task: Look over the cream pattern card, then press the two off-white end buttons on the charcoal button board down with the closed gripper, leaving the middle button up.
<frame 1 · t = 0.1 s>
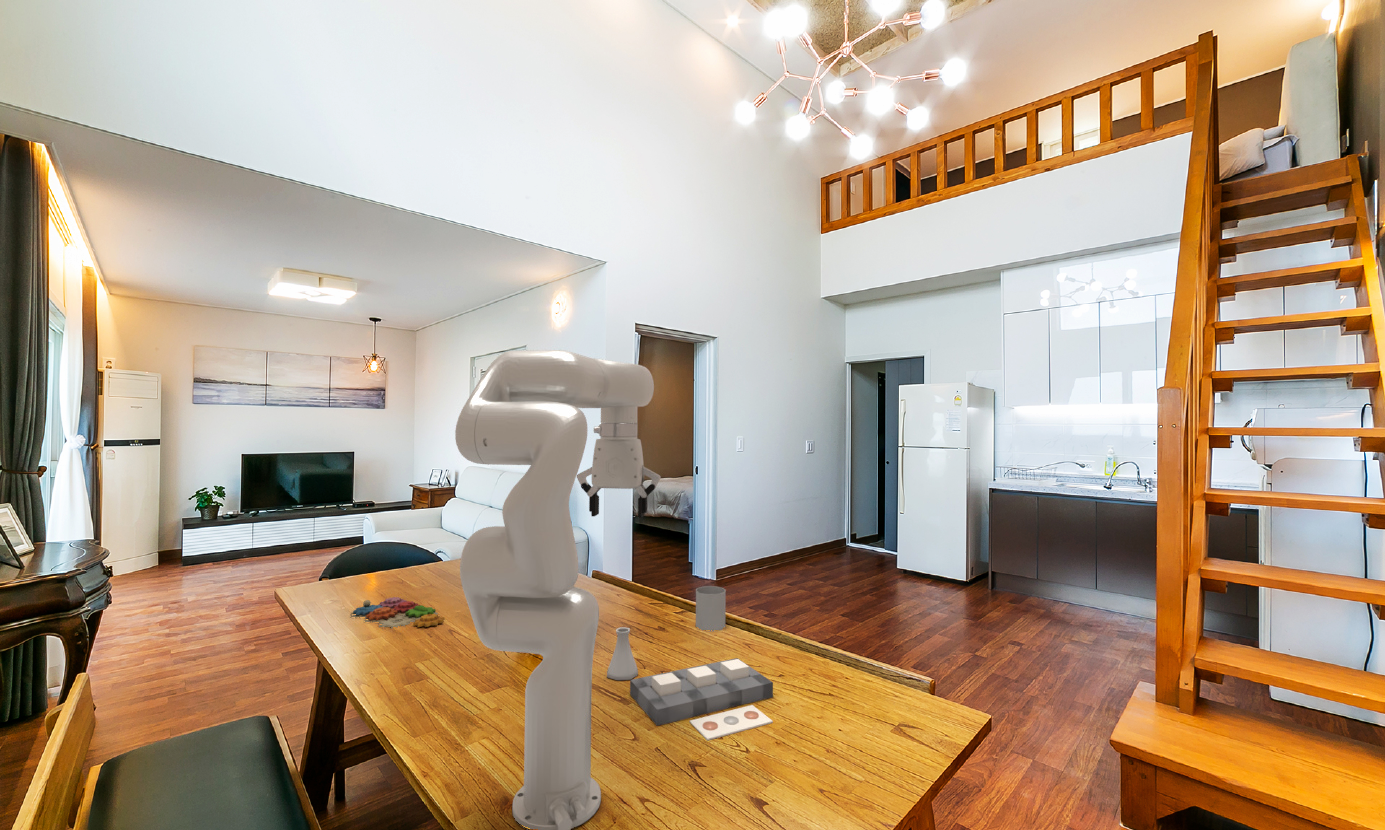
hand: (618, 516, 117), 37 cm above the table, tool pointing down, fingers open, 9 cm apart
button a: (734, 673, 123), point 3 cm above the table, slide at 0.0 cm
pattern card: (731, 722, 108), on the table
flask: (622, 675, 129), on the table
button c: (666, 687, 115), point 3 cm above the table, slide at 0.0 cm
button b: (701, 680, 119), point 3 cm above the table, slide at 0.0 cm
gear puzzle: (401, 620, 166), on the table
button board: (701, 695, 119), on the table
cup: (710, 626, 161), on the table
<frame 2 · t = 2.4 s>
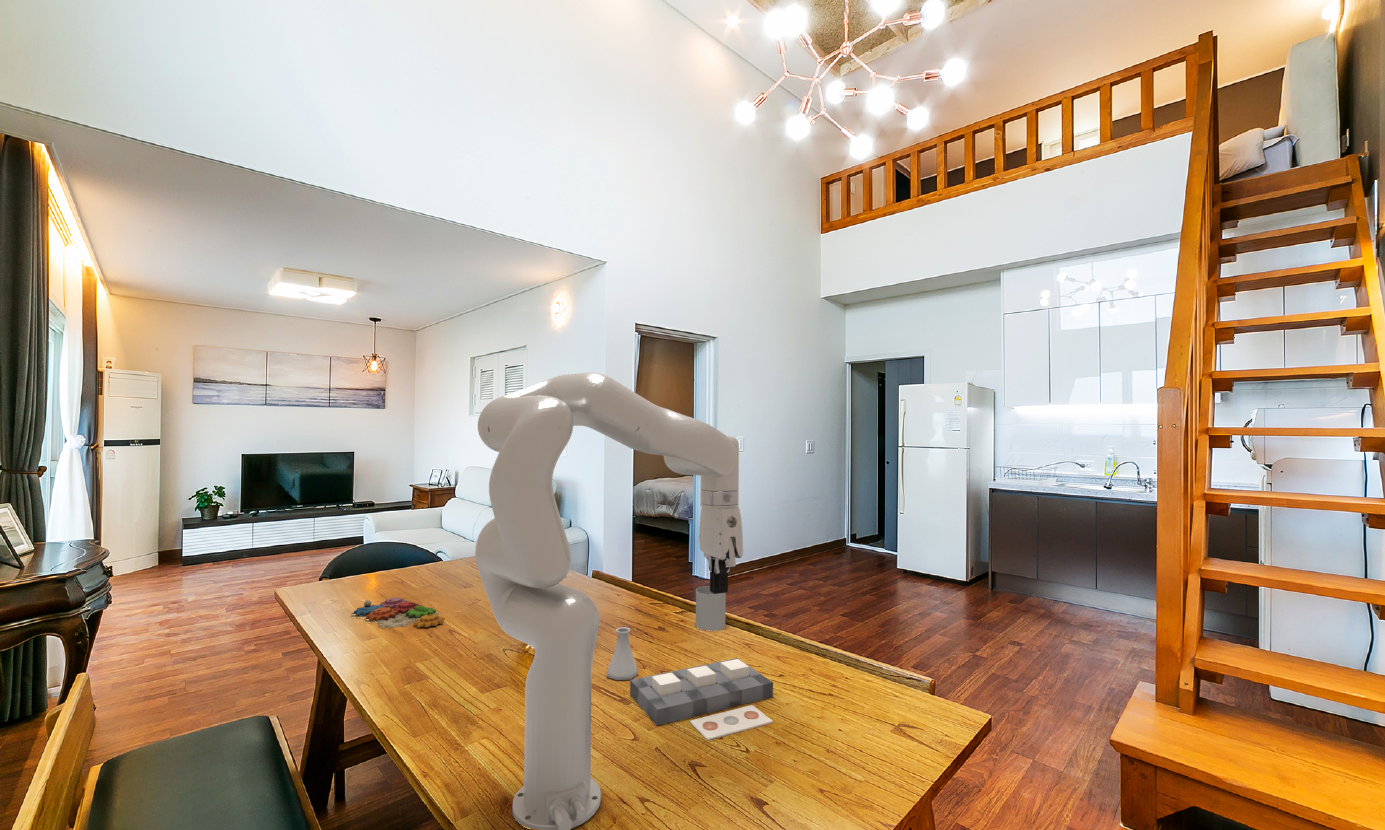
hand: (718, 592, 113), 23 cm above the table, tool pointing down, fingers closed
nothing on the table moved.
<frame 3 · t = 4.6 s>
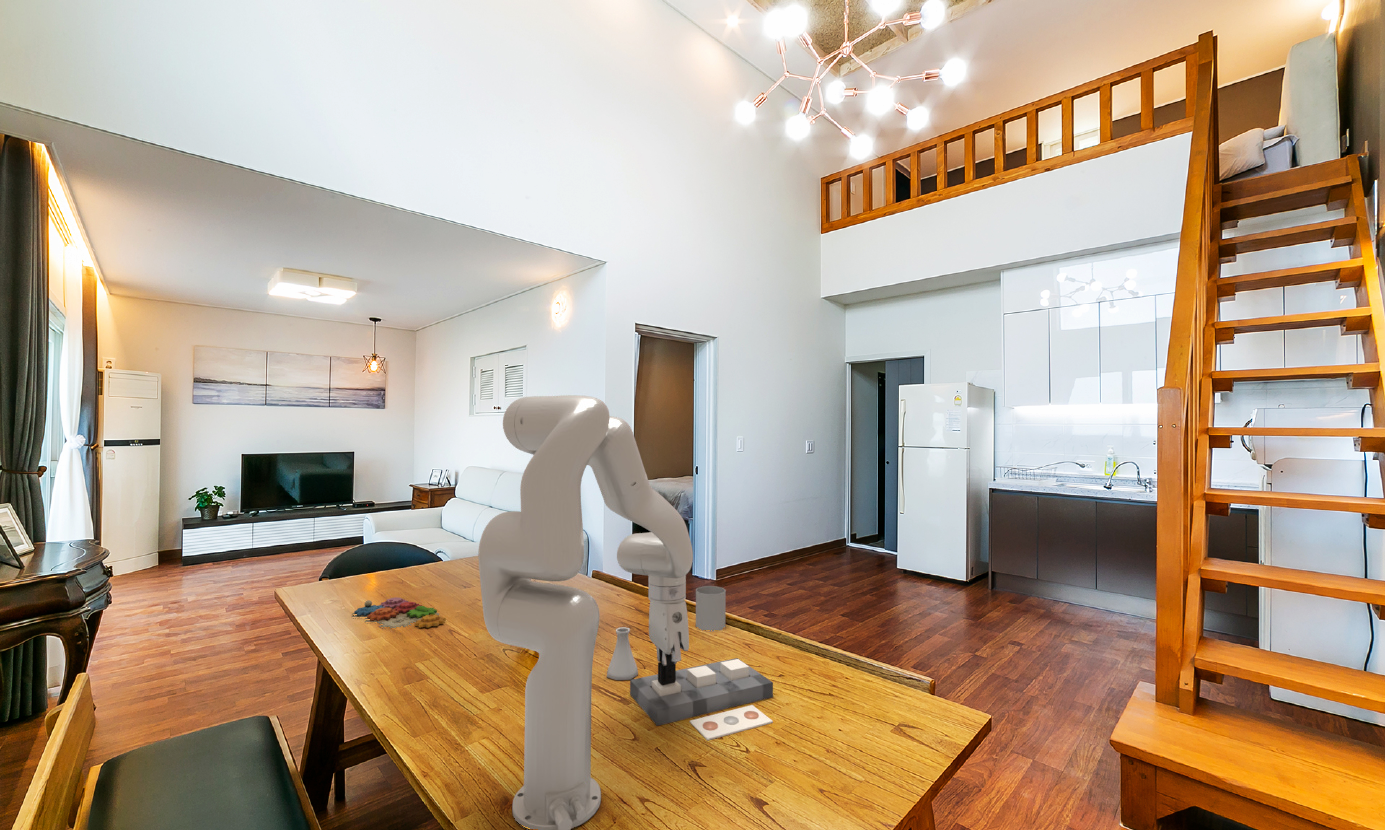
hand: (666, 682, 115), 4 cm above the table, tool pointing down, fingers closed
button c: (666, 692, 115), point 2 cm above the table, slide at 0.9 cm, touching gripper
everything else where it was.
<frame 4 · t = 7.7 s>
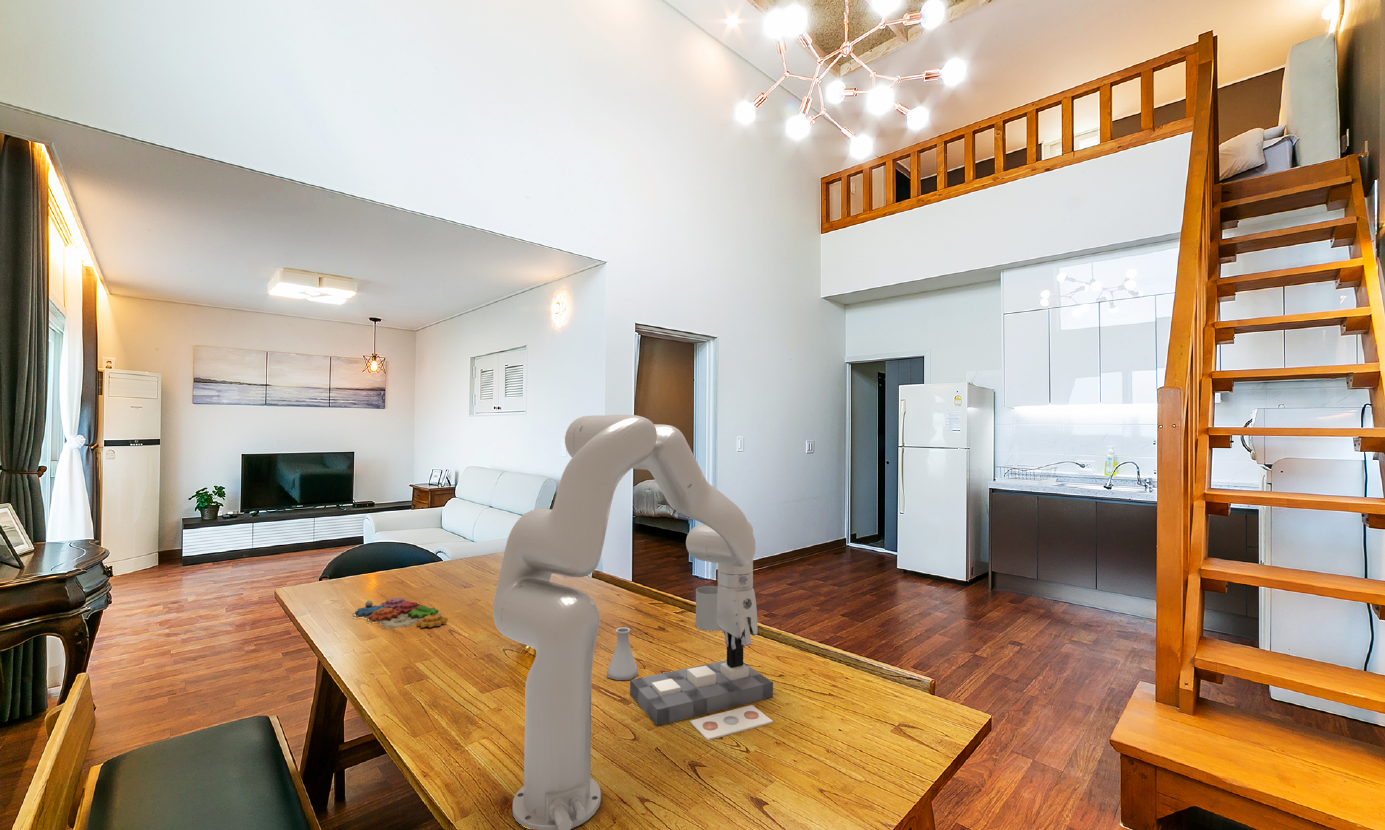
hand: (735, 665, 123), 5 cm above the table, tool pointing down, fingers closed
button a: (734, 674, 123), point 3 cm above the table, slide at 0.3 cm, touching gripper
button c: (666, 694, 115), point 2 cm above the table, slide at 1.2 cm
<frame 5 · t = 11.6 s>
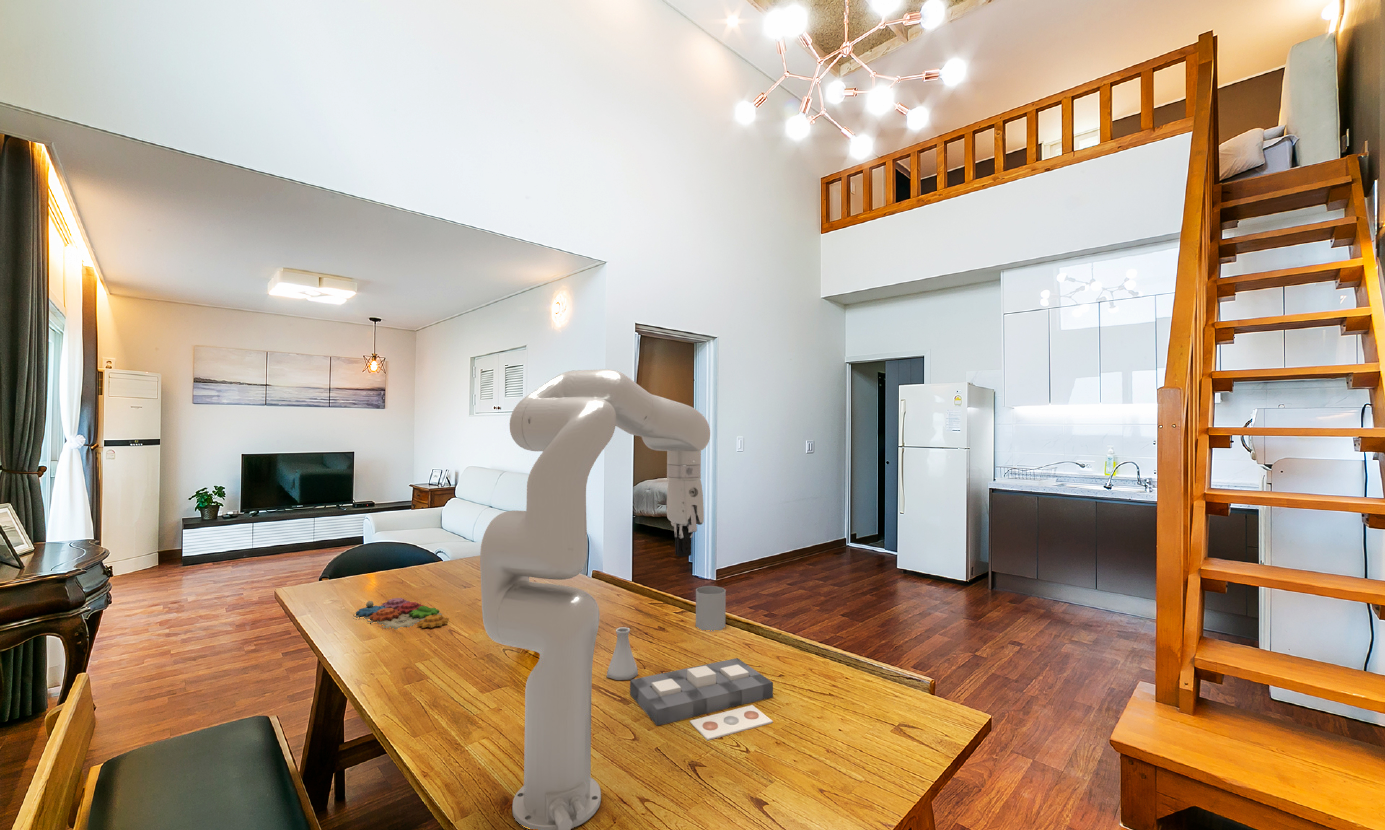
hand: (683, 555, 127), 27 cm above the table, tool pointing down, fingers closed
button a: (734, 678, 122), point 2 cm above the table, slide at 1.2 cm
at the end: button c slide at 1.2 cm; button a slide at 1.2 cm; button b slide at 0.0 cm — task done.
